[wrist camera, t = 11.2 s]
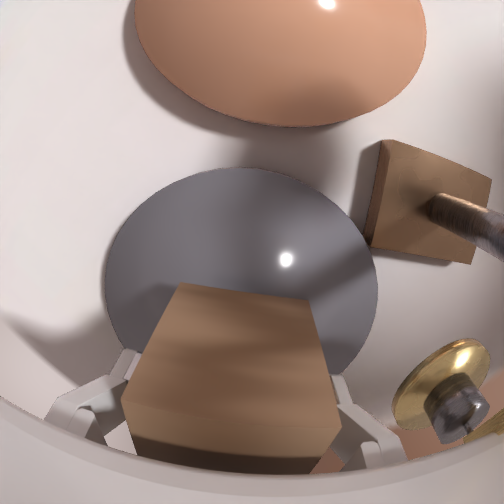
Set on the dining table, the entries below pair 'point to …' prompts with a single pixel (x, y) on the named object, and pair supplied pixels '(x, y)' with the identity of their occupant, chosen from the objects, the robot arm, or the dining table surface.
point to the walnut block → (233, 385)
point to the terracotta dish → (285, 55)
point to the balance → (447, 248)
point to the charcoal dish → (244, 255)
